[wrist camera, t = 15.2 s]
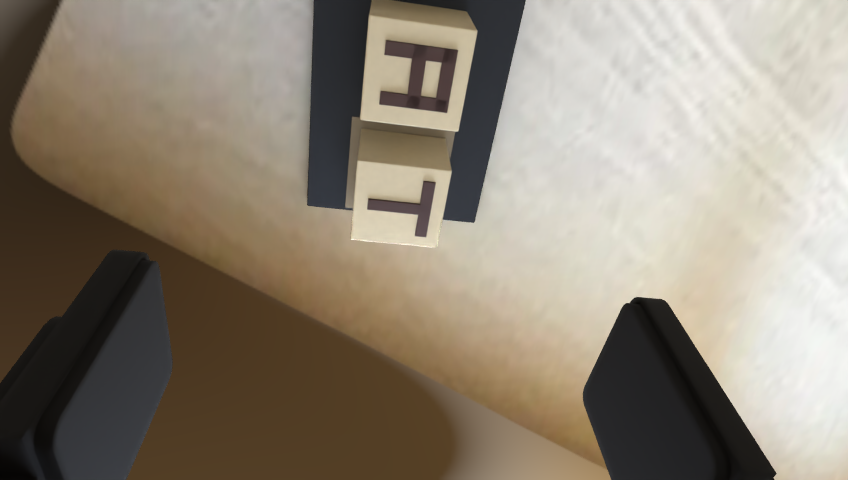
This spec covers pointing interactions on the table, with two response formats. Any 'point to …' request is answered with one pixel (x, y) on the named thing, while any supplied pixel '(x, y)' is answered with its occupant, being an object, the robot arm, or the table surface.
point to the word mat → (341, 126)
